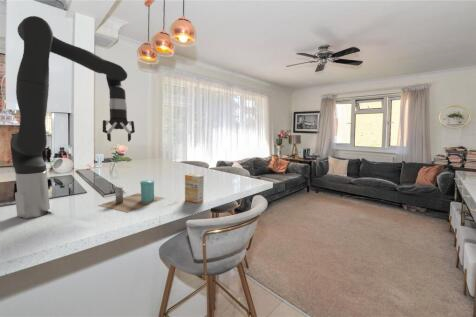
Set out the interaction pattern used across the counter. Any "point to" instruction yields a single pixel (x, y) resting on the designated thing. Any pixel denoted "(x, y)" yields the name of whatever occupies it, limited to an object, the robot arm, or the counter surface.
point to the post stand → (127, 201)
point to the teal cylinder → (147, 190)
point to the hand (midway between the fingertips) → (119, 141)
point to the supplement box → (194, 187)
